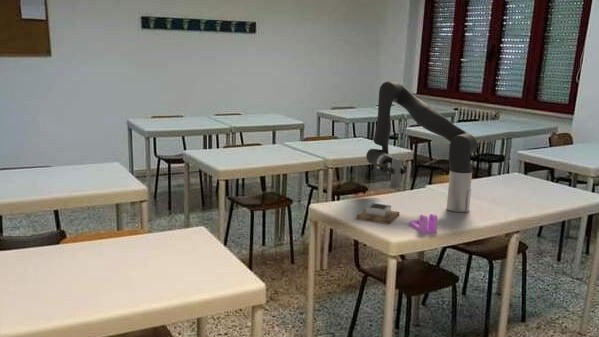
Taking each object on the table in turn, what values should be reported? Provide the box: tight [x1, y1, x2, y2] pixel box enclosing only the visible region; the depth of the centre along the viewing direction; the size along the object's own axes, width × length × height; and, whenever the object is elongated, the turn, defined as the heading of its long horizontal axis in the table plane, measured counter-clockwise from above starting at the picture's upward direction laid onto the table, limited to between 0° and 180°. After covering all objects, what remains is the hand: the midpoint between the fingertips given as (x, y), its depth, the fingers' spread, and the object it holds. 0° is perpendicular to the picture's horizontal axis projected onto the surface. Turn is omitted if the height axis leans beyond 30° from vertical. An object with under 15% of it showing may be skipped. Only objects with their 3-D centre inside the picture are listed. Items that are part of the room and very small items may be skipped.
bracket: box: [408, 213, 439, 235], centre depth 209 cm, size 13×6×7 cm, turn 17°
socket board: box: [355, 202, 400, 225], centre depth 222 cm, size 14×14×4 cm
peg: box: [390, 157, 403, 189], centre depth 228 cm, size 4×4×12 cm
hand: (398, 171), depth 226 cm, fingers closed on peg, 4 cm apart
